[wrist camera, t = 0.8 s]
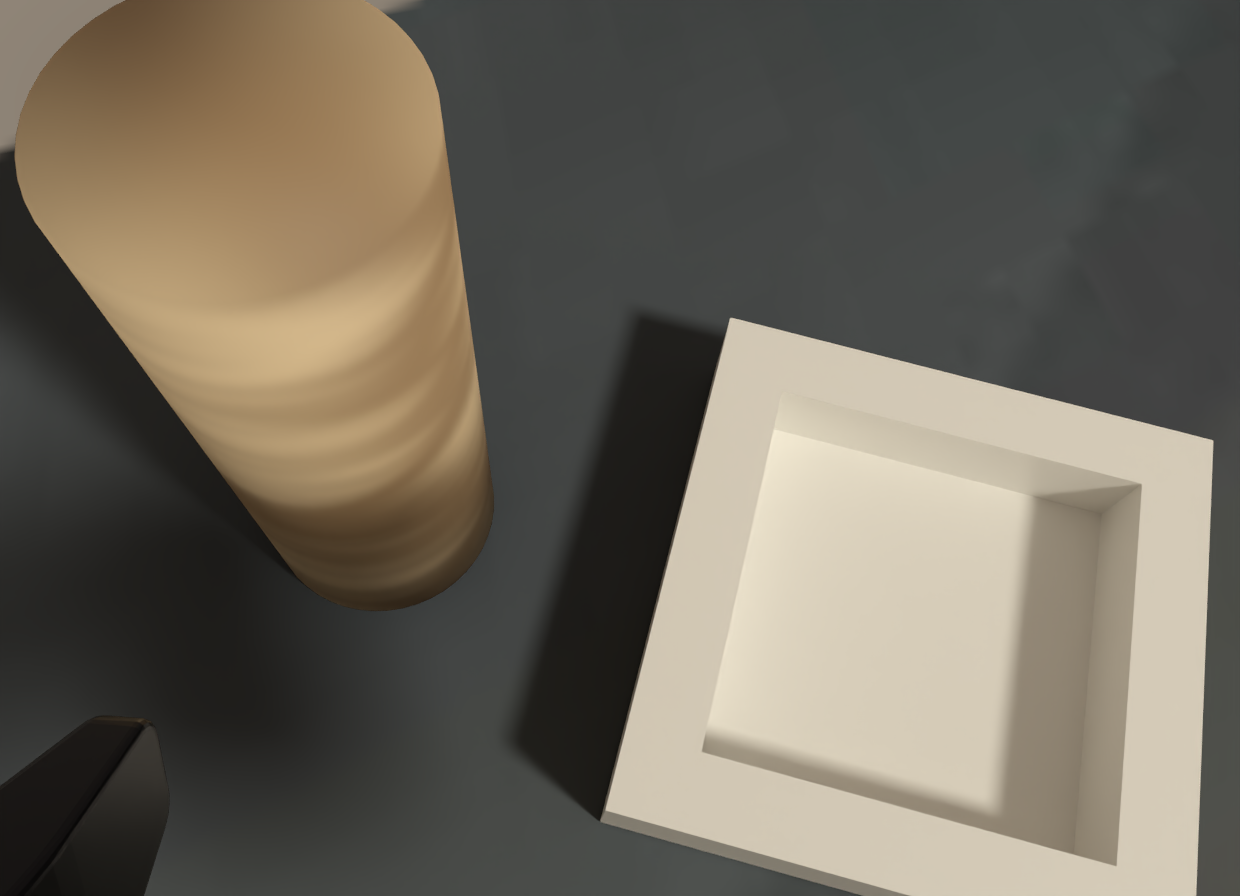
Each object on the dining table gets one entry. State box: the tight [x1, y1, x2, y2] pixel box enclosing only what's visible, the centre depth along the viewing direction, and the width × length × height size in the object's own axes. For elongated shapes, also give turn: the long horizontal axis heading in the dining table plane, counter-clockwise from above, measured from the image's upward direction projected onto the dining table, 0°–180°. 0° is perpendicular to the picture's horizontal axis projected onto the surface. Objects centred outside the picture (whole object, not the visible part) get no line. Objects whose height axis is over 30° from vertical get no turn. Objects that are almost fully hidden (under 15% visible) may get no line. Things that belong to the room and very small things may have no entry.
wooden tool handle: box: [15, 0, 494, 611], centre depth 19 cm, size 5×5×13 cm
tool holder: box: [600, 318, 1213, 896], centre depth 23 cm, size 11×11×2 cm
